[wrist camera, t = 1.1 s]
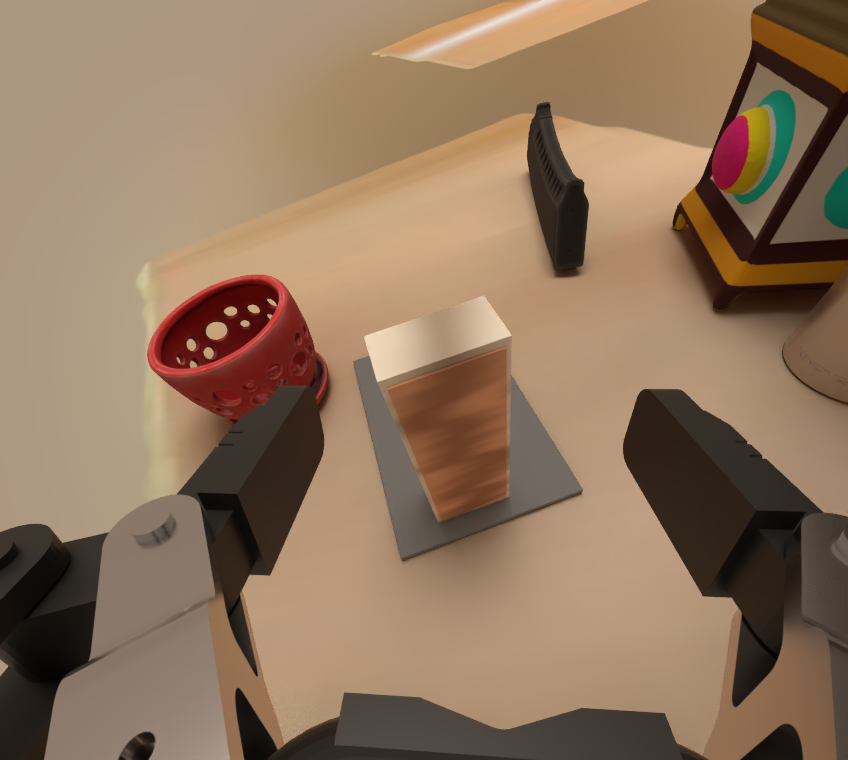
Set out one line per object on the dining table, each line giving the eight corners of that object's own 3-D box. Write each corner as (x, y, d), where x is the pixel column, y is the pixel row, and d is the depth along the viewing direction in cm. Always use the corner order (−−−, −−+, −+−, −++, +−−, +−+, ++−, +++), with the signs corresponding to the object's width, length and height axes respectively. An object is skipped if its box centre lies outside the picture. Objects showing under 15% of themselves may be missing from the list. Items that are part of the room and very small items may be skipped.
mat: (476, 323, 43) (476, 319, 43) (581, 492, 29) (583, 489, 29) (354, 364, 42) (353, 361, 42) (402, 560, 28) (400, 558, 28)
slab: (493, 464, 31) (484, 295, 18) (510, 498, 29) (512, 337, 16) (427, 488, 31) (364, 336, 17) (438, 525, 29) (377, 384, 15)
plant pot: (315, 338, 47) (269, 254, 38) (353, 407, 39) (306, 322, 29) (216, 387, 44) (140, 310, 35) (234, 472, 36) (141, 402, 27)
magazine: (600, 215, 37) (560, 41, 48) (566, 219, 38) (535, 46, 49) (569, 308, 53) (545, 160, 64) (546, 310, 53) (525, 163, 65)
